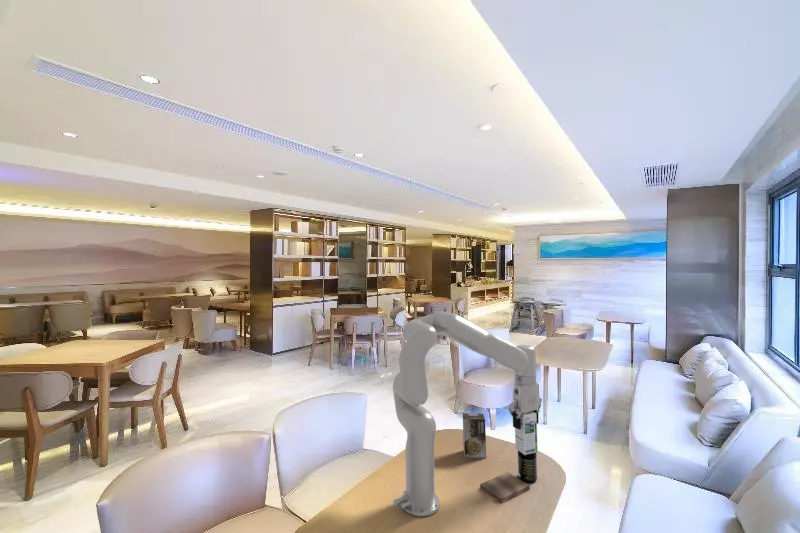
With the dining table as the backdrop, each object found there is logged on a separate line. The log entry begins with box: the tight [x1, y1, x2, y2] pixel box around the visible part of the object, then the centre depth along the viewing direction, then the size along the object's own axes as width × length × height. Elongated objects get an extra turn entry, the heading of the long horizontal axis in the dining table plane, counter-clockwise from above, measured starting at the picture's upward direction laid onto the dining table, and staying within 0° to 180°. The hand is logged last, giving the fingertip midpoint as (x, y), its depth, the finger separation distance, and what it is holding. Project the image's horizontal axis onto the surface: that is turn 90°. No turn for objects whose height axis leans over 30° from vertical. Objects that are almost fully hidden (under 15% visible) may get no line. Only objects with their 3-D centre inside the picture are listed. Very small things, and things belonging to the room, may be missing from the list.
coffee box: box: [462, 412, 487, 459], centre depth 153 cm, size 9×6×16 cm
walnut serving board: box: [479, 472, 531, 504], centre depth 128 cm, size 14×10×2 cm
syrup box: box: [514, 411, 538, 455], centre depth 134 cm, size 6×6×14 cm
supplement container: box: [517, 450, 538, 484], centre depth 134 cm, size 7×7×10 cm
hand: (525, 425), depth 134 cm, fingers open, 9 cm apart
